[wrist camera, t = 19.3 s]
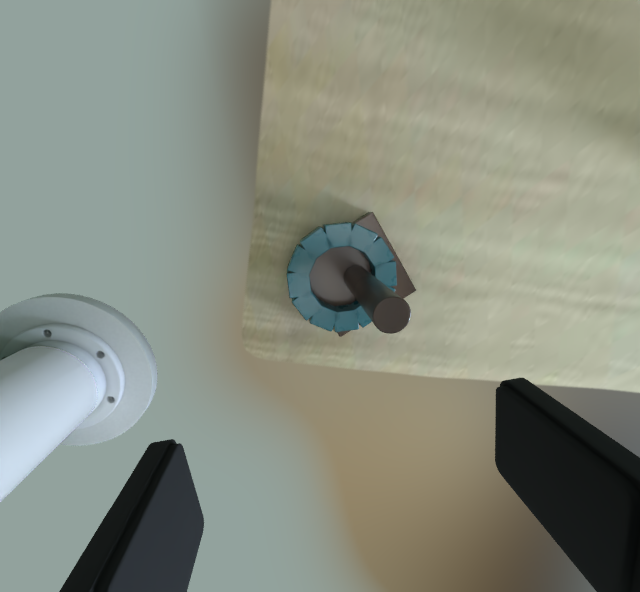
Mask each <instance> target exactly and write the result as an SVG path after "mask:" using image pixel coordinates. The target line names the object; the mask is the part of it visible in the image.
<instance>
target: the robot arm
mask: <svg viewBox="0 0 640 592" xmlns="http://www.w3.org/2000/svg"><path fill="white" fill-rule="evenodd" d="M124 388H125V375H124V370H123V367H122V364H121V362H120V360H119V358H118V357H117V355H116V353H115V352H114V351H113V350H112V348H111V347H110V346H109V345H108V344H107V343H106V342H104V341H103V340H102V339H101V338H100V337H98V336H96V335H95V334H93V333H91V332H90V331H87V330H85V329H82V328H80V327H77V326H73V325H68V324H58V323H52V324H43V325H39V326H36V327H32V328H30V329H28V330H26V331H23V332H21V333H20V334H18V335H17V336H15V337H14V338H12V339H11V340H10V341H9V342H8V343H7V344H6V345H5V347H4V349H3V350H2V352H1V354H0V502H1V501H2V500H3V499H4V498H5V497H6V496H7V495H8V494H9V493H10V492H11V491H12V490H13V489H14V488H15V487H16V486H17V485H18V484H19V483H20V482H21V481H22V480H23V479H24V478H25V477H27V475H29V474H30V473H31V472H32V470H34V469H35V467H37V466H38V465H39V464H40V463H41V462H42V461H43V460H44V459H45V458H46V457H47V456H48V455H49V454H50V453H51V452H52V451H53V450H54V449H55V448H56V447H57V446H58V445H59V444H60V443H61V442H62V441H63V440H64V439H65V438H66V437H67V436H68V435H69V434H70V433H71V432H72V431H73V430H75V429H83V428H86V427H90V426H93V425H95V424H97V423H99V422H101V421H102V420H103V419H105V418H106V417H107V416H109V415H110V413H111V412H112V411H113V410H114V409H115V408H116V407H117V405H118V404H119V402H120V401H121V398H122V396H123V393H124ZM495 438H496V440H495V442H496V443H495V444H496V445H495V462H496V466H497V468H498V470H499V472H500V474H501V475H502V476H503V477H504V479H505V480H506V481H507V483H508V484H509V485H510V486H511V487H512V489H513V490H514V491H515V492H516V494H517V495H518V496H519V497H520V498H521V500H522V501H523V502H524V503H525V505H526V506H527V507H528V508H529V509H530V511H531V512H532V513H533V514H534V516H535V517H536V518H537V519H538V520H539V522H540V523H541V524H542V525H543V526H544V528H545V529H546V530H547V531H548V533H549V534H550V535H551V536H552V538H553V539H554V540H555V541H556V542H557V544H558V545H559V546H560V547H561V548H562V550H563V551H564V552H565V553H566V555H567V556H568V557H569V558H570V560H571V561H572V562H573V563H574V564H575V566H576V567H577V568H578V569H579V571H580V572H581V573H582V574H583V575H584V577H585V578H586V579H587V580H588V582H589V583H590V584H591V585H592V586H593V587H594V589H595V590H596V591H597V592H640V458H639V457H638V456H636V455H635V454H633V453H632V452H630V451H629V450H628V449H626V448H625V447H623V446H622V445H620V444H619V443H618V442H616V441H615V440H613V439H612V438H610V437H609V436H607V435H606V434H604V433H603V432H602V431H600V430H599V429H597V428H596V427H594V426H593V425H591V424H590V423H588V422H587V421H586V420H584V419H583V418H581V417H580V416H578V415H577V414H576V413H574V412H573V411H571V410H570V409H568V408H567V407H565V406H564V405H562V404H561V403H560V402H558V401H556V400H555V399H554V398H552V397H551V396H549V395H548V394H547V393H545V392H544V391H542V390H541V389H539V388H538V387H536V386H535V385H534V384H532V383H531V382H529V381H528V380H526V379H524V378H517V379H511V380H505V381H502V382H501V384H500V387H498V388H497V389H496V437H495ZM203 528H204V518H203V514H202V511H201V507H200V504H199V500H198V497H197V493H196V490H195V487H194V483H193V480H192V477H191V473H190V470H189V466H188V463H187V459H186V456H185V452H184V449H183V446H182V445H181V444H176V442H175V440H173V439H171V440H165V441H160V442H154V443H151V444H150V445H149V446H148V448H147V450H146V451H145V453H144V455H143V456H142V458H141V460H140V461H139V463H138V464H137V466H136V468H135V469H134V471H133V473H132V474H131V476H130V478H129V479H128V481H127V482H126V484H125V486H124V487H123V489H122V491H121V492H120V494H119V496H118V497H117V499H116V501H115V502H114V504H113V505H112V507H111V509H110V510H109V511H108V513H107V515H106V516H105V518H104V519H103V521H102V523H101V524H100V526H99V528H98V529H97V531H96V533H95V534H94V536H93V537H92V539H91V541H90V542H89V544H88V546H87V548H86V549H85V551H84V552H83V554H82V556H81V557H80V559H79V560H78V562H77V564H76V566H75V567H74V569H73V570H72V572H71V573H70V575H69V577H68V578H67V580H66V582H65V583H64V585H63V587H62V588H61V590H60V592H187V589H188V585H189V581H190V578H191V574H192V570H193V566H194V563H195V559H196V556H197V552H198V548H199V545H200V541H201V537H202V533H203Z"/></svg>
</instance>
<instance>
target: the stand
mask: <svg viewBox="0 0 640 592" xmlns="http://www.w3.org/2000/svg"><path fill="white" fill-rule="evenodd" d="M353 223H355V224H358V225H360V226H362V227H364V228H366V229H368V230H371V231H373V232H375V233H377V234H378V235H377V236H379V237H382V239H383V240H384V242H385V243H386V245H387V246H388V248H389V250H390V251H391V253H392V254H393V256H394V258H393V259H392V260H394V261H396V278H397V285H396V286H392V287H393V288H395V289H396V290H395V292H394V291H392V290H391V289H390V288H388V287H387V286H386V285H385V284H383V283H382V282H381V281H380V280H378V279H377V278H376V277H375V276H373V275H372V274H371V273H370V264H369V262H368V261H367V259H366V258H365V256H364V255H363V253H362V252H361V251H359V250H357V249H355V248H352V247H350V246H344V247H335V248H330V249H329V250H327V251H326V252H325V253H323V254H322V255H321V256H319V257H318V258H317V259H316V261H315V263H314V265H313V268H312V270H311V272H310V274H309V277H310V286H311V289H312V291H313V292H314V293H315V294H316V296H317V297H318V298H319V300H321V301H323V302H325V303H328V304H330V305H333V306H341V305H350V304H352V303H353V302H354V301H356V300H357V301H358V302H359V304H360V305H361V306H362V308H363V309H364V311H365V312H366V313H367V315H368V316H369V318H370V319H371V320H372V322H373V323H374V325H375V326H376V327H377V328H378V329H379V330H380V331H382V332H384V333H396V332H399V331H401V330H402V329H404V328H405V327H406V326H407V324H408V322H409V320H410V317H411V310H410V307H409V305H408V303H407V302H406V301H405V300H404V299H403V298H405V297H406V296H408V295H409V294H411V293H413V292H414V291H416V289H415V287H414V285H413V284H412V282H411V280H410V278H409V276H408V275H407V273H406V271H405V269H404V267H403V266H402V264H401V262H400V260H399V258H398V257H397V255H396V253H395V251H394V249H393V248H392V246H391V244H390V242H389V240H388V239H387V237H386V235H385V233H384V231H383V230H382V228H381V226H380V224H379V222H378V221H377V219H376V217H375V215H374V213H373V212H368V213H367V214H365V215H364V216H362V217H361V218H359V219H357V220H356V221H354V222H353ZM358 323H359V322H358ZM359 325H360V324H359ZM349 331H351V330H348V331H340V332H337V333H338V334H339V336H340V337H341V336H343V335H344V334H346V333H347V332H349Z"/></svg>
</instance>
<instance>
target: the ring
mask: <svg viewBox="0 0 640 592" xmlns="http://www.w3.org/2000/svg"><path fill="white" fill-rule="evenodd" d="M323 229H324V230H323ZM323 229H322V228H321V227H318V228H316V229H315V230H314V231H312V232H311V233H310V234H308V235H307V236H306V237H304V238H303V239H301V240H300V243H301V245H302V246H301V245H298V244H297V246H296V248H295V250H294V253H293V255H292V257H291V260H290V262H289V264H288V269H287V280H288V288H289V295H290V298H292V303H293V304H294V306H295V307H296V308H297V309H298V311H299V312H300V313H301V315H302V316H303V317H304V318H305V320H308V319H309V321H310V323H311V324H313V325H316V326H318V327H321V328H323V329H326V330H329V331H332V329H333V327H334V329H335V332H340V331H348V330H356V329H359V324H360V325H361V326H362V327H364V326H366V325H367V324H369V323H370V322H372V320H371V319H370V318H369V316H368V315H367V313H366V312H365V311H364V309H363V308H362V306H361V305H360V304H359V302H358V301H357V300H356V301H354V302H353V303H352V304H350V305H341V306H333V305H330V304H328V303H325V302H323V301H321V300H319V298H318V297H317V296H316V294H315V293H314V292H313V291H312V289H311V286H310V277H309V274H310V272H311V270H312V268H313V265H314V263H315V261H316V259H317V258H318V257H319V256H321V255H322V254H323V253H325V252H326V251H327V250H329V249H330V248H335V247H344V246H350V247H352V248H355V249H357V250H359V251H361V252H362V253H363V255H364V256H365V258H366V259H367V261H368V262H369V264H370V273H371V274H372V275H373V276H375V277H376V278H377V279H378V280H380V281H381V282H382V283H383V284H385V285H386V286H387V287H388V288H390V289H391V290H392V291H394V292H395V290H396V289H395V288H393V287H392V286H396V285H397V278H396V261H394V260H392V259H393V258H394V256H393V254H392V253H391V251H390V250H389V248H388V246H387V245H386V243H385V242H384V240H383V239H382V237H379V236H377V235H378V234H377V233H375V232H373V231H371V230H368V229H366V228H364V227H362V226H360V225H358V224H355V223H350V222H343V223H334V224H324V225H323ZM358 322H359V323H358Z"/></svg>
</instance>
